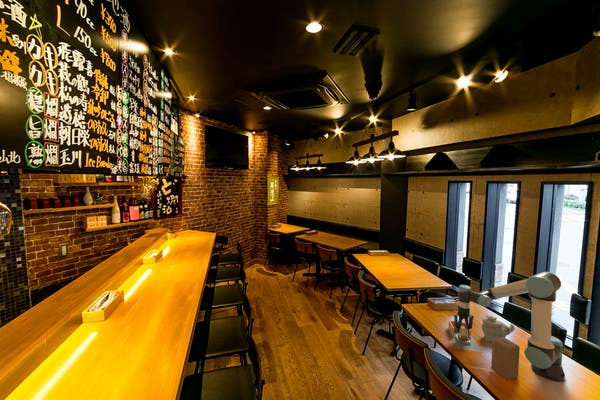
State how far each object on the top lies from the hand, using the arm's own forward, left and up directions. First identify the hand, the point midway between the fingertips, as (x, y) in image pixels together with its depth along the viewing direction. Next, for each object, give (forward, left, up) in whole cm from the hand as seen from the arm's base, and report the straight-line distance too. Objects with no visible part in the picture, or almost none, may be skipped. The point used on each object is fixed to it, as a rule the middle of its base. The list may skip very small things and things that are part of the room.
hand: (462, 336), depth 190 cm
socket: (0, 0, -4) cm, 4 cm away
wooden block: (-28, -15, -4) cm, 32 cm away
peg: (0, 0, -3) cm, 3 cm away
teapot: (+8, -25, -4) cm, 27 cm away
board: (+3, -1, -4) cm, 5 cm away
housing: (+9, 0, -3) cm, 9 cm away
